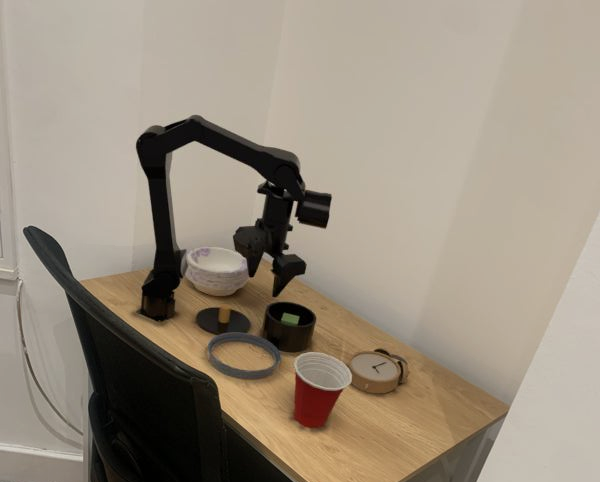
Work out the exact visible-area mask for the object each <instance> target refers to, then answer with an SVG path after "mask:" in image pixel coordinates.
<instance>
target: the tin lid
mask: <svg viewBox="0 0 600 482" xmlns="http://www.w3.org/2000/svg"><path fill="white" fill-rule="evenodd" d="M195 321H196V324H197V325H198V327H200V329H202V331H203V330H204V331H205V332H207V333H209V334H212V335H215V336H218V335H220V334H223V333H230V332H241V333H248V332H249V331H250V329H251V325H252V323H251V321H250V319H249V318H248V317H247V316H246V315H245V314H244V313H242V312H239V310H235V309H232V306H231V305H230V304H228V303H221V304H220V305H219V306H214V307H213V306H212V307H207V308H203V309H201V310H199V311H198V312H197V314H196V316H195Z"/></svg>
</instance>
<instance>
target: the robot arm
mask: <svg viewBox="0 0 600 482" xmlns="http://www.w3.org/2000/svg"><path fill="white" fill-rule="evenodd" d="M194 142H196V143H198V144H201V146H204V147H206V148H209V149H211V150H214V151H215V152H217V153H220V154H222V155H224V156H227V157H228V158H230V159H233V160H235V161H237V162H239V163H242V164H244V165H246V166H248V167H250V168H251V169H253V170H254V171H256V172H257V173H258V174H259V175H260V176H261V177H262V178H263V179H264V180H265V181H263V182H262V183H260V184H258V185H257V189H256V193H257V194H259V195H265V198H264V203H263V209H262V214H261V217H258V218H256V220H255V222H254V225H246V226H245V225H244V226H239V227H238V228H237V229H236V230H235V231H234V232H235V233H234V234H233V235H232V241H233V242H232V243H233V246H234V251H235V252H237V253H239V254H241V255H242V257H244V258H246V261H247V268H248V278H250V279H252V278H254V277H255V275H256V273H257V271H258V268H259V266H260V264H261V261H262V259H263V256H264V254H267V255H269V256H270V257H271V258H272V263H271V267H272V269H270V272H271V273H272V275H273V284H272V292H271V297H272V298H273V299H274V298H278V297H279V296H280V294H281V293H282V292H283V291H284V289H286V287H287V286H288V285H289V283H290V282H291V281H292V280H294V278H295V277H297V276H302V275H306V271H307V266H308V264H307V262H306V261H305V260H303V258H301V257H300V256H299V255H298V254H296V253H289V254H288V253H287V254H285V253H284V251H289V249H290V245H289V244H288V243H287V242H286V241H287V238H288V233H289V232H293V230H294V226H293V224H290V223H291V218H292V212H293V209H294V204H295V202H296V207H295V210H294V215H293V216H294V218H297V219H296V221H297V222H298V224H300V225H304V226H305V225H306V226H310V227H315V228H319V229H324V230H326V229H327V227H328V224H329V219H330V210H331V205H332V200H333V194H331V193H328V192H320V191H316V190H310V189H306V188H307V185H306V182H305V181H304V179H303V177H302V174H301V162H300V159H299V157H298V155H296V154H295V153H294V152H291V151H289V150H285V149H282V148H278V147H273V146H265V145H261V144H258V143H256V142H254V141H252V140H249V139H247V138H245V137H244V136H241V135H239V134H236V133H235V132H232V131H230V130H228V129H226V128H224V127H222V126H220V125H218V124H216V123H213V122H211V121H209V120H207V119H205V118H204V117H203V116H201V115H199V114H192V115H190V116H189V117H187V118H184V119H182V120H178V121H175V122H172V123H170V124H167V125H165V126H162V125H160V124H159V125H158V124H154V125H151V126H149V127H147V129H145V130H144V131H143V132H142V133H141V134H140V135H139V137H138V138H137V139H136V142H135V150H136V154H137V157H138V160H139V163H140V167H141V170H142V171H143V173H144V175H145V177H146V179H147V184H148V193H149V201H150V209H151V210H150V211H151V217H152V225H153V235H154V241H155V254H154V260H153V267H152V269H150V271H149V272H148V274H147V276H146V277H145V279H144V281H143V284H142V285H141V286H140V287H141V302H140V303H141V304H140V309H138V310H136V311H135V312H136V314H139V315H141V316H143V317H145V318H148V319H150V320H152V321H154V322H157V323H162V322H164V321H167V320H169V319H171V318H173V317H174V316H175V315H176V314H177V311H175V309H176V299H175V290H177V289H178V288H179V286H180V284H181V282H182V280H183V279H184V277H185V276H186V275H185V273H186V270H187V268H188V266H189V265H188V263H187V261H186V259H187V258H186V257H187V254H188V252H187V251H188V250H187V249H186V248H185V249H184V248H183V249H180V247H179V245H178V242H177V236H176V234H177V233H176V226H175V216H174V207H173V196H172V195H173V194H172V187H171V179H170V178H171V177H170V174H171V169H172V162H173V152H174V151H177V150H178V149H181V148H182V147H184V146H187V145H188V144H191V143H194Z"/></svg>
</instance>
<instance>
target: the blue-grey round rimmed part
mask: <svg viewBox="0 0 600 482" xmlns="http://www.w3.org/2000/svg"><path fill="white" fill-rule="evenodd" d="M227 343H228V344H229V343H244V344H250V345H252V346H256V347H258V348H261V349H263V351H265V352H267V353H268V354H269V355H270V356H271V357H272V359H273V361H274V363H273V365H271V366H269V367H267V368H264V369H255V370H251V369H250V370H249V369H242V368H241V369H240V368H236V367H232V366H230V365H228V364H225V363H223V362H222V361H220V360H219V359H218V358H217V357H216V356H215V355H214V354H213V351H214V349H216V348H217V347H218V346H221V345H224V344H227ZM206 358H207V359H206V360H207V361H208V363H209V364H210V365H211V367H212V368H213V369H215V370H216V371H217V372H219V373H221V374H223V375H225V376H227V377H230V378H235V379H238V380H246V381H257V380H263V379H267V378H269V377H271V376H273V375H274V374H275V373H276V372H277V371H278V369H279V368H280V363H281V359H282V358H281V351H279V350H278V349H277V348H276V347H275V346H274V345H273V344H272V343H271V342H269V341H268V340H266V339H264V338H261V336H259V335H256V334H252V333H248V332H246V333H241V332H230V333H223V334H220V335H215V336H214V337H213V338H211V339H210V341H209V342H208V344H207V349H206Z"/></svg>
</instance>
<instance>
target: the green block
mask: <svg viewBox="0 0 600 482" xmlns="http://www.w3.org/2000/svg"><path fill="white" fill-rule="evenodd" d="M298 321H299V316H296V315H291V314H287V313H284V314H283V316H282V319H281V322H282V323H284V324H288V325H294V326H298Z"/></svg>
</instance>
